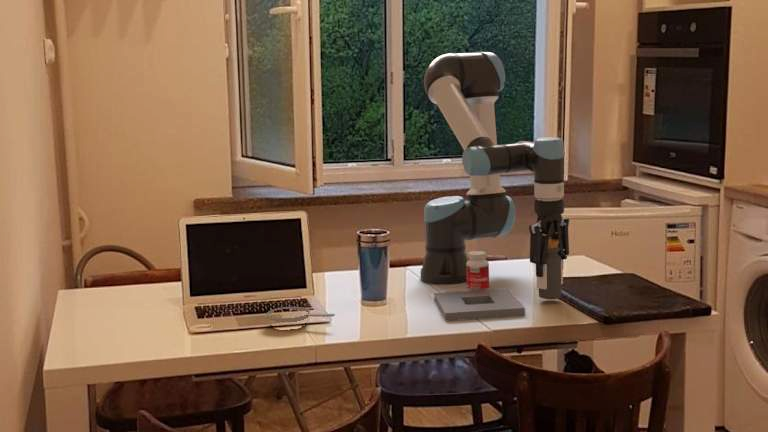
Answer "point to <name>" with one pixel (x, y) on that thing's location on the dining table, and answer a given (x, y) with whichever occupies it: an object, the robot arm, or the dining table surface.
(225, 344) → the dining table surface
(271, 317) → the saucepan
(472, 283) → the pill bottle
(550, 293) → the bottle
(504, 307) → the hole plate
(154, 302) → the dining table surface
